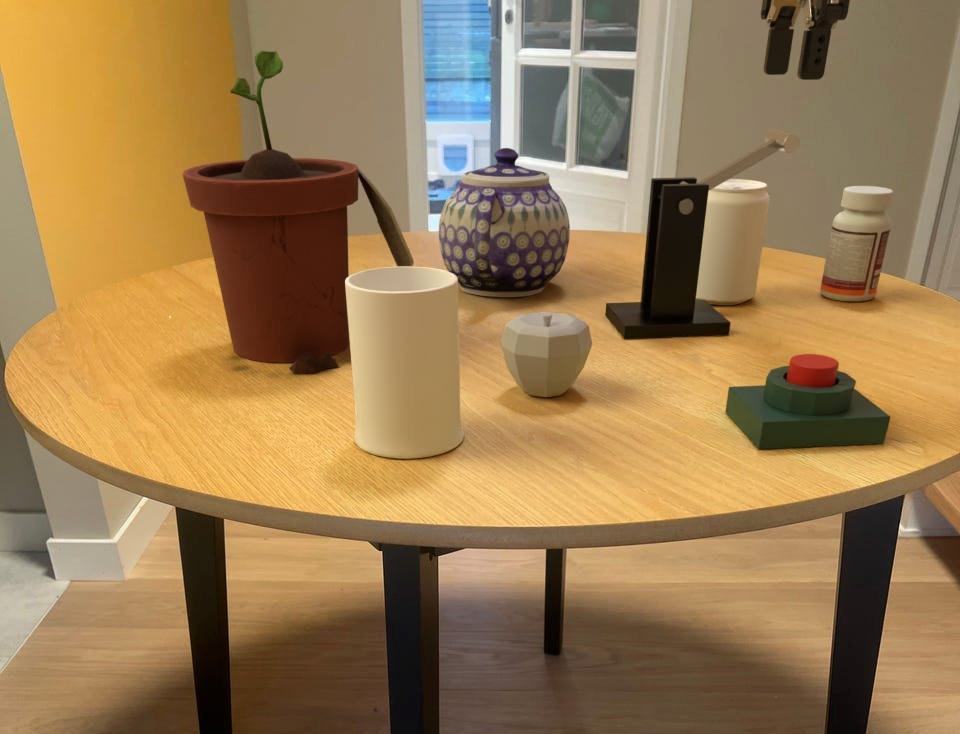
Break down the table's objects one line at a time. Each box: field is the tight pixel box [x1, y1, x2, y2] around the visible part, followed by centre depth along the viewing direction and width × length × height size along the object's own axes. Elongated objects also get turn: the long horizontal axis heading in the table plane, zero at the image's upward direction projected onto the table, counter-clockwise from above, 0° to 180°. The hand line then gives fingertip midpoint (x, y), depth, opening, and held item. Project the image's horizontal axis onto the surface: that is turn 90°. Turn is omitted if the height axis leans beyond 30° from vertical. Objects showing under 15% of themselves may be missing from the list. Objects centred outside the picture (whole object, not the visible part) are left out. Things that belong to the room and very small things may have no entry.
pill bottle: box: [820, 185, 894, 303], centre depth 106 cm, size 6×6×11 cm
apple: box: [499, 311, 593, 398], centre depth 81 cm, size 8×8×7 cm
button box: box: [724, 365, 891, 450], centre depth 74 cm, size 10×8×4 cm
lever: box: [658, 128, 801, 202], centre depth 92 cm, size 13×5×2 cm, turn 96°
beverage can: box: [696, 178, 770, 306], centre depth 105 cm, size 8×8×12 cm
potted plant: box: [182, 50, 415, 374], centre depth 87 cm, size 18×22×25 cm
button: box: [786, 353, 840, 388], centre depth 73 cm, size 4×4×2 cm
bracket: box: [604, 176, 731, 340], centre depth 96 cm, size 11×9×14 cm
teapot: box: [438, 147, 571, 298], centre depth 109 cm, size 25×15×15 cm, turn 165°
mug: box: [345, 265, 465, 460], centre depth 72 cm, size 12×8×12 cm
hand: (791, 76), depth 88 cm, fingers open, 8 cm apart
